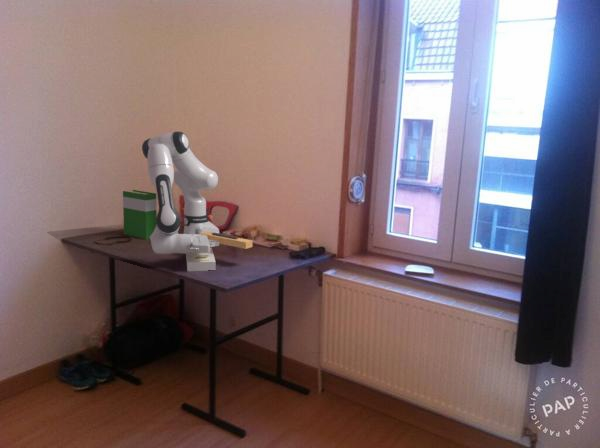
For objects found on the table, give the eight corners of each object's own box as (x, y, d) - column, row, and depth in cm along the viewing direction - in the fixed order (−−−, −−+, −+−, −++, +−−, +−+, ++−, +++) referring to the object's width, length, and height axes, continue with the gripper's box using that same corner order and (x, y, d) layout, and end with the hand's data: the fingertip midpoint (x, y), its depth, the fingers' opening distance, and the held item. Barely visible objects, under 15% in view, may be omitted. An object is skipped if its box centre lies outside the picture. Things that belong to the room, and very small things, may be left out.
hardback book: (123, 234, 287) (122, 191, 283) (134, 232, 294) (133, 189, 289) (146, 239, 278) (145, 194, 274) (156, 237, 285) (156, 193, 280)
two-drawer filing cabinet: (185, 254, 252) (185, 237, 251) (211, 253, 255) (211, 237, 254) (187, 271, 225) (187, 253, 223) (215, 270, 228) (215, 252, 226)
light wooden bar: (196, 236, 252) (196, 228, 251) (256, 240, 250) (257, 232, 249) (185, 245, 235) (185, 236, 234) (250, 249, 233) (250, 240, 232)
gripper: (188, 242, 221) (221, 242, 224) (186, 232, 241) (217, 231, 244) (188, 256, 222) (220, 256, 226) (186, 245, 242) (216, 244, 245)
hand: (218, 243), depth 235 cm, fingers closed
